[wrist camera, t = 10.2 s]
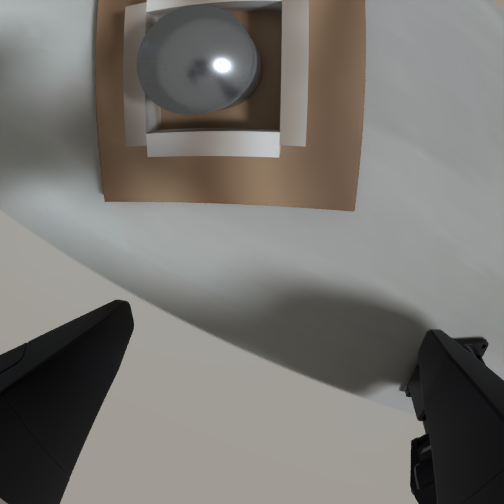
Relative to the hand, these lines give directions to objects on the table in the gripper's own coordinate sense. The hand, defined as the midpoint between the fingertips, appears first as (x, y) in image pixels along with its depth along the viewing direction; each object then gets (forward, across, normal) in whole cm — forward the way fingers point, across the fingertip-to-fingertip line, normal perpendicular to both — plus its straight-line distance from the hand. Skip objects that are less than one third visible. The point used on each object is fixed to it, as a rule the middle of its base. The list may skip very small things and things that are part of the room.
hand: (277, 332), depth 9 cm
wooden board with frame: (+11, +4, -8) cm, 14 cm away
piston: (+10, +4, -8) cm, 13 cm away
